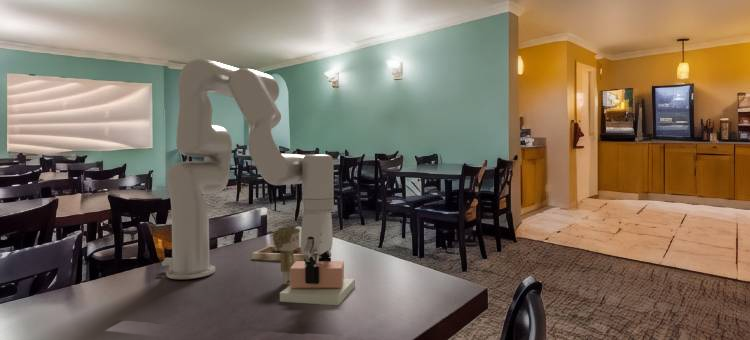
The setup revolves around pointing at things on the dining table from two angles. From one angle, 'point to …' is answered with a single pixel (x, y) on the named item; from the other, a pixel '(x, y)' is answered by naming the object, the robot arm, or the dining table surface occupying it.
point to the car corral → (275, 255)
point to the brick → (328, 275)
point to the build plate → (318, 294)
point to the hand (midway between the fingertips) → (318, 277)
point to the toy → (286, 248)
